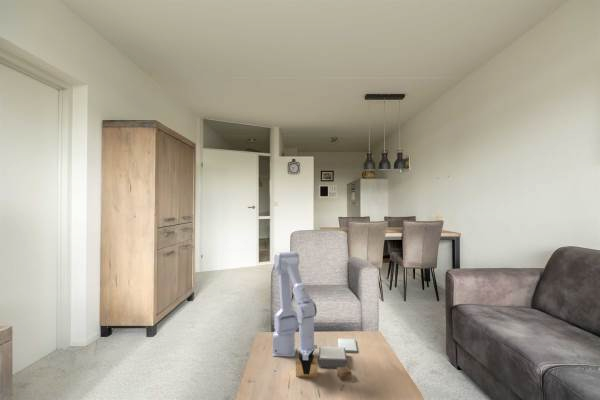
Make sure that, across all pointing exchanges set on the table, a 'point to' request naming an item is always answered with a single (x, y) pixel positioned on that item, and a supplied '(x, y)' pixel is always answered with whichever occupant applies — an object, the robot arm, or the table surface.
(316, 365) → the block
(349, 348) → the hard drive
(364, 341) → the table surface
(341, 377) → the walnut block
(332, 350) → the stand
